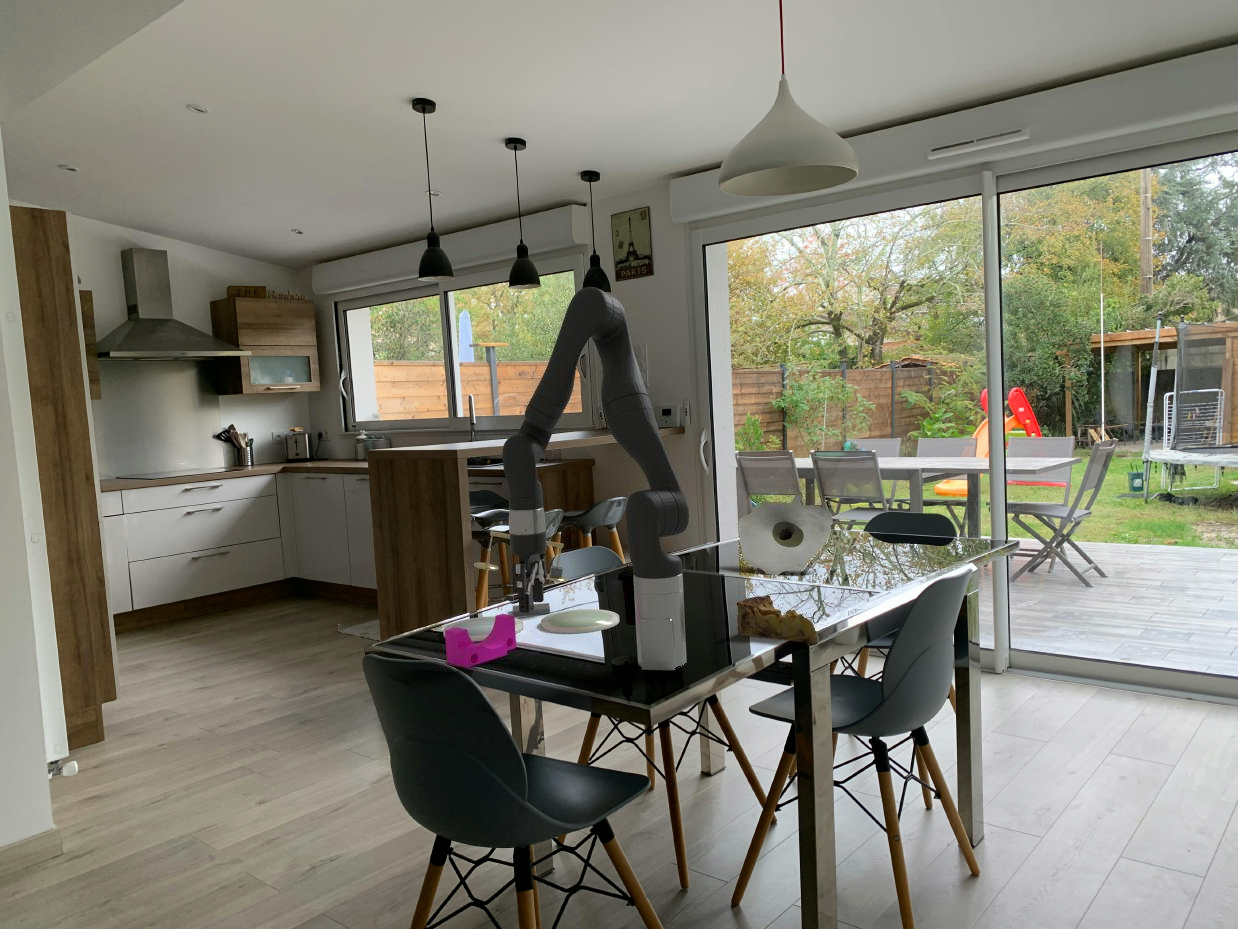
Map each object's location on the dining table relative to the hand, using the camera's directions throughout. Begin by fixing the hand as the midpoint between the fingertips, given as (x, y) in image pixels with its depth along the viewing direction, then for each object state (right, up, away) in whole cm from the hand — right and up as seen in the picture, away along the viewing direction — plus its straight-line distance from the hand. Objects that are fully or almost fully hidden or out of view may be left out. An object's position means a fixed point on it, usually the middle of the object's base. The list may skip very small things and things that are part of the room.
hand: (531, 607), depth 182 cm
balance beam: (-6, +3, +32) cm, 33 cm away
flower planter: (+79, +6, +70) cm, 105 cm away
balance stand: (-3, -7, +33) cm, 34 cm away
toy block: (-9, -10, -4) cm, 14 cm away
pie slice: (+52, -7, -2) cm, 52 cm away
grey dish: (-13, -8, +17) cm, 23 cm away
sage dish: (+9, -7, +19) cm, 22 cm away
